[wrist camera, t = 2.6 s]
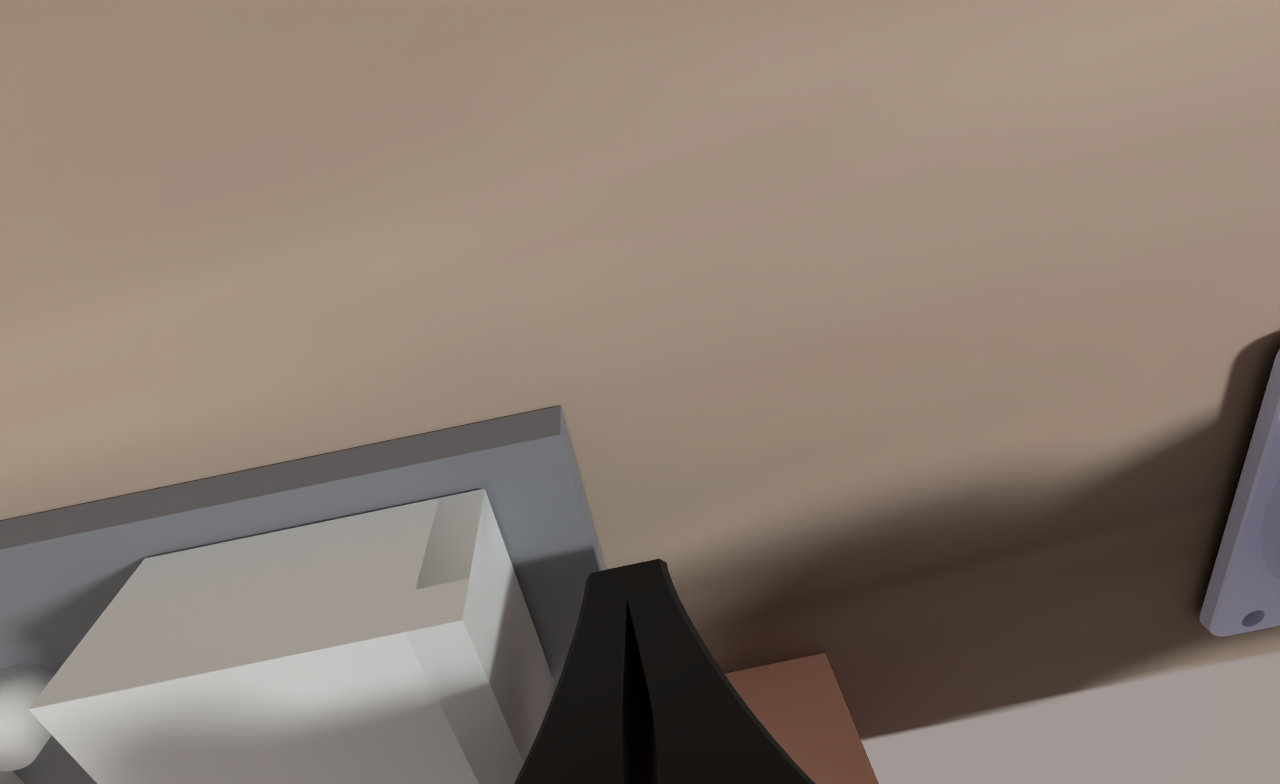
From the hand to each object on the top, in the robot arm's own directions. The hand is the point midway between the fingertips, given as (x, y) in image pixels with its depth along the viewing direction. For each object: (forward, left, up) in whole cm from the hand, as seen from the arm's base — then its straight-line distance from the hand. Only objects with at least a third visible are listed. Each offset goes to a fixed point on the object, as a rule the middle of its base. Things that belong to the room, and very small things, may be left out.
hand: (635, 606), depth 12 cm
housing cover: (+5, 0, -1) cm, 5 cm away
